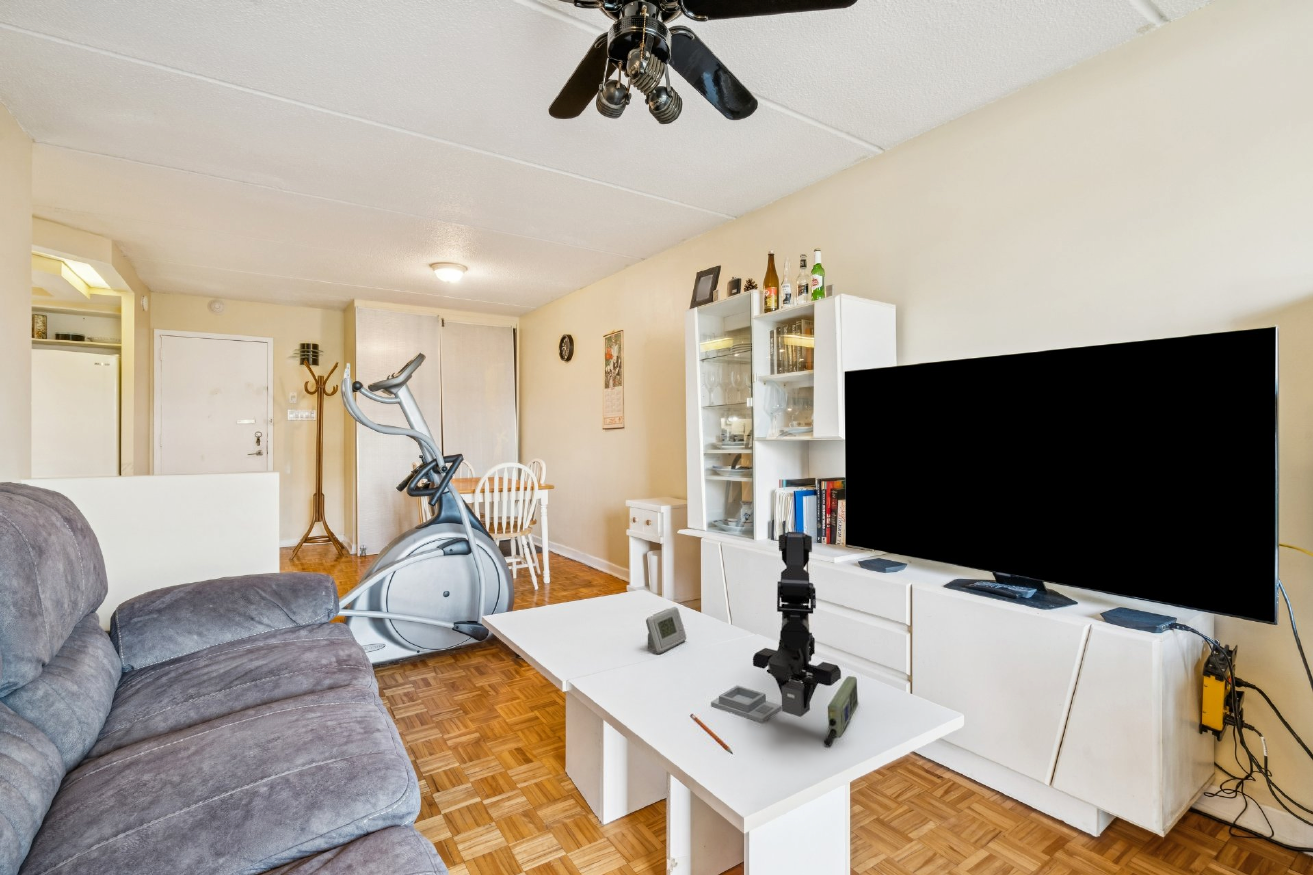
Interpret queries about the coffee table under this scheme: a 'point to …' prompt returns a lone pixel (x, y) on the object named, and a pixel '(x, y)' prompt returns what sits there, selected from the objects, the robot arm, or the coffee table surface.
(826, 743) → the handheld radio
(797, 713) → the block
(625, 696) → the coffee table surface
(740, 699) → the grey charging dock
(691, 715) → the pencil
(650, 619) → the digital clock
